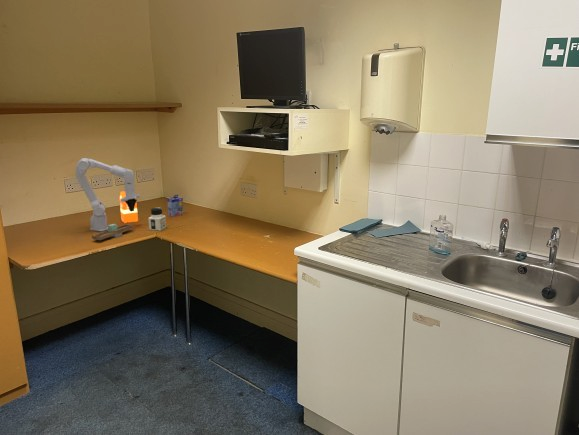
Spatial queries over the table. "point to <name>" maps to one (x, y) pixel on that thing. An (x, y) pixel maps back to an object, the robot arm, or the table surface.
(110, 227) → the block
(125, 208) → the orange juice
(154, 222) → the container
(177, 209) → the ink cartridge box
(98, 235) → the beam
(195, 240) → the table surface
